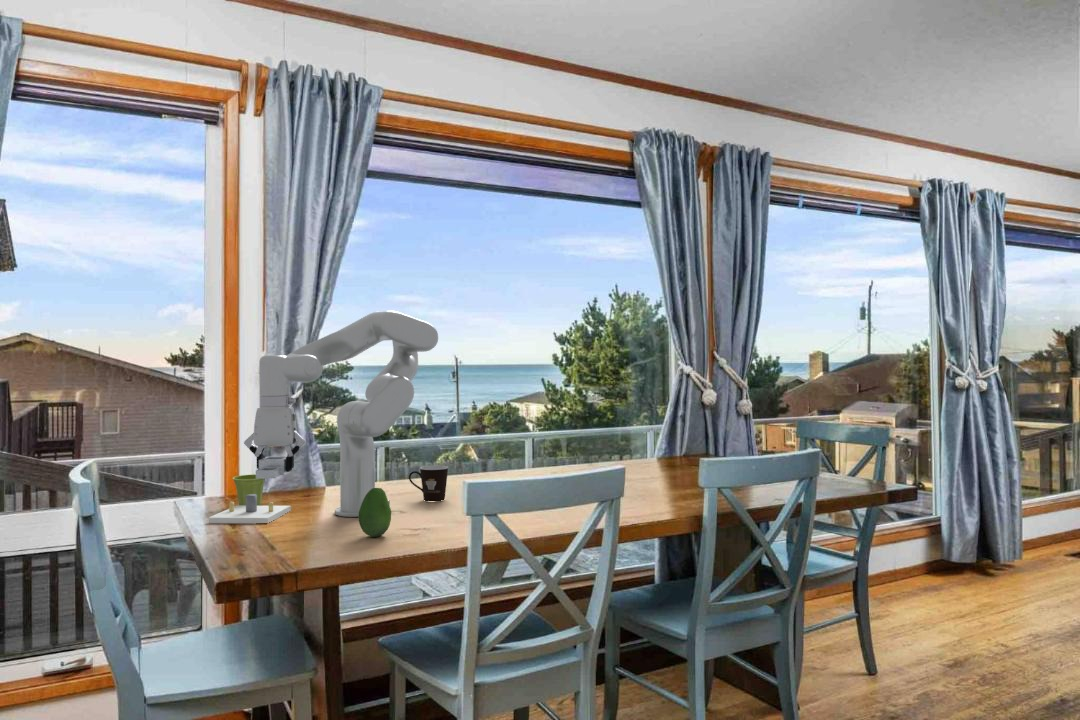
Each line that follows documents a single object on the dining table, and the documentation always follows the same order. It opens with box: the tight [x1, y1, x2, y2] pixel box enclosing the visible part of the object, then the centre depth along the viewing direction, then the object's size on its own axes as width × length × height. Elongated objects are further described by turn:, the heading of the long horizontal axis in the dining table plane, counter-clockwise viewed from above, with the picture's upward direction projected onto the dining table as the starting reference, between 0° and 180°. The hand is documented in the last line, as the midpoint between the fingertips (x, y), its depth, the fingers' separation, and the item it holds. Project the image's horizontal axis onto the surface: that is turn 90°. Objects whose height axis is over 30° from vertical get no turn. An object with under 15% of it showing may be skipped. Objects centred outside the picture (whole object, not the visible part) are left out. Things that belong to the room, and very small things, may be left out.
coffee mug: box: [408, 465, 449, 502], centre depth 227 cm, size 12×9×10 cm
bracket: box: [255, 455, 295, 480], centre depth 191 cm, size 16×6×4 cm, turn 3°
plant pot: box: [232, 473, 266, 506], centre depth 217 cm, size 9×9×9 cm
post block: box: [208, 494, 292, 524], centre depth 202 cm, size 16×16×6 cm
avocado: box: [358, 487, 392, 538], centre depth 180 cm, size 8×8×12 cm
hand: (275, 470), depth 191 cm, fingers closed on bracket, 6 cm apart
